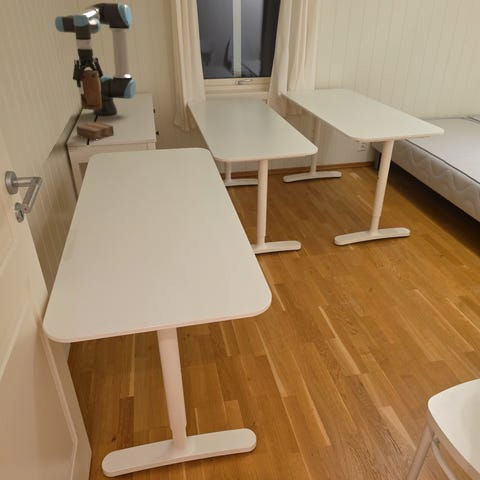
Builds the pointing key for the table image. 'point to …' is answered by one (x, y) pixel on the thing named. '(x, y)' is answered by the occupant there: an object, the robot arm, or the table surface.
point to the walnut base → (95, 130)
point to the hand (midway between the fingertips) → (90, 91)
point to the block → (91, 90)
